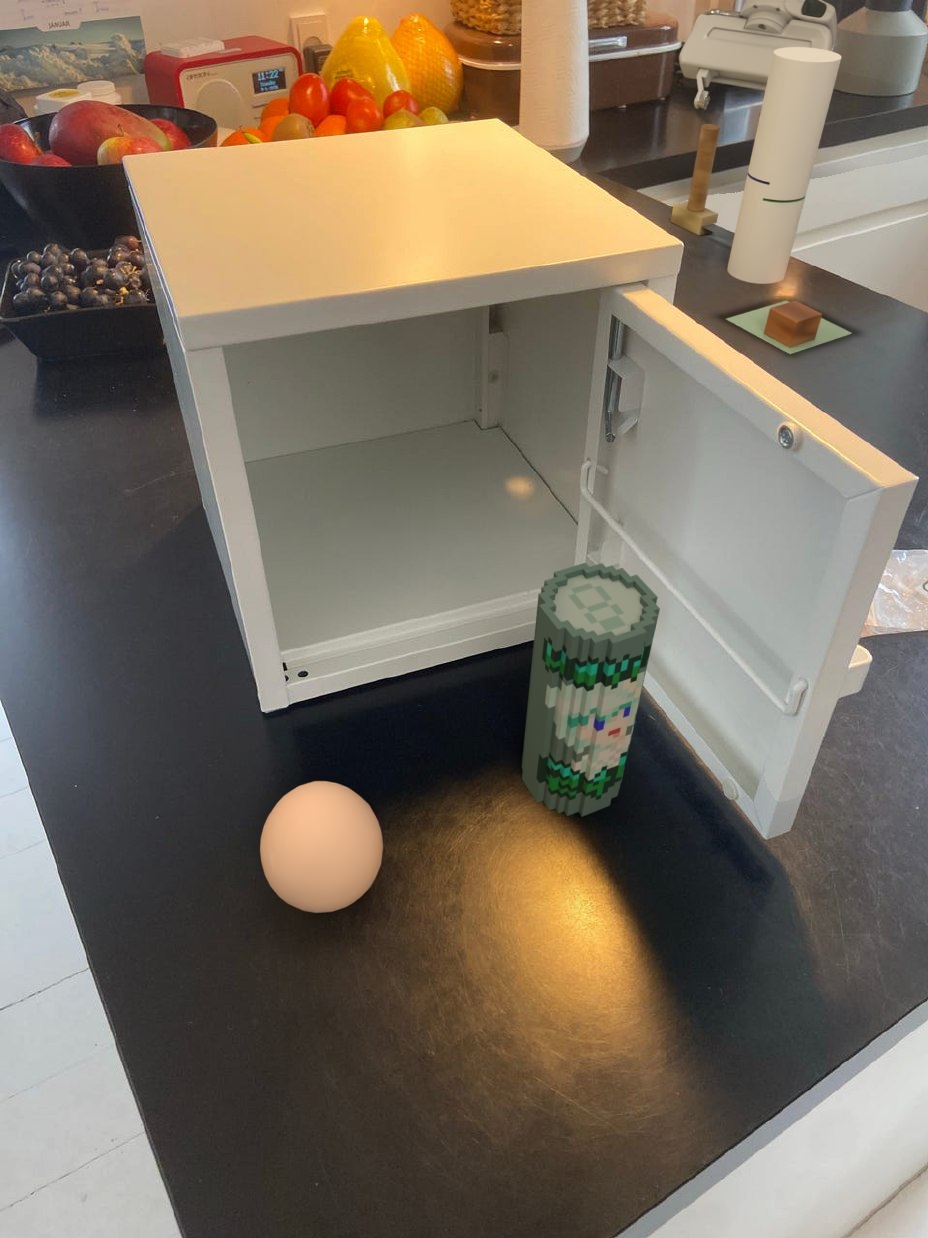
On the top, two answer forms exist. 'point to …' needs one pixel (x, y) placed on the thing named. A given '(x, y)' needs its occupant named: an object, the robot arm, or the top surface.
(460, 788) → the top surface
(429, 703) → the top surface
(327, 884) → the egg
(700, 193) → the mallet
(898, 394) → the top surface
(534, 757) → the can
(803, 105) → the cylindrical container
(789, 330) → the brown wooden block
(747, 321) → the flat green square plate
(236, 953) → the top surface
